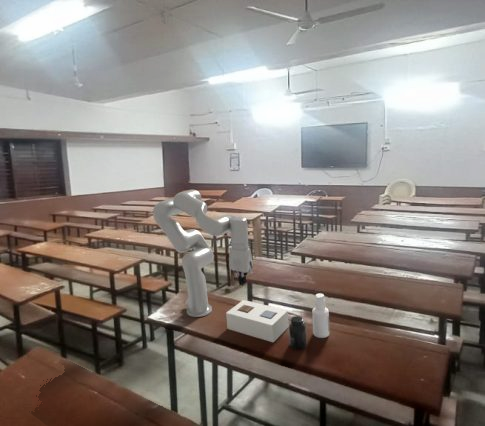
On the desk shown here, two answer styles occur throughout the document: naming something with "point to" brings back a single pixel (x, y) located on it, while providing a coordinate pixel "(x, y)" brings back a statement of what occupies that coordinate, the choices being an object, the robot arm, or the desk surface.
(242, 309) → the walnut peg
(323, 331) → the spray bottle
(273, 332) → the peg board
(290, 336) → the supplement bottle
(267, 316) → the slate peg
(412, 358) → the desk surface
